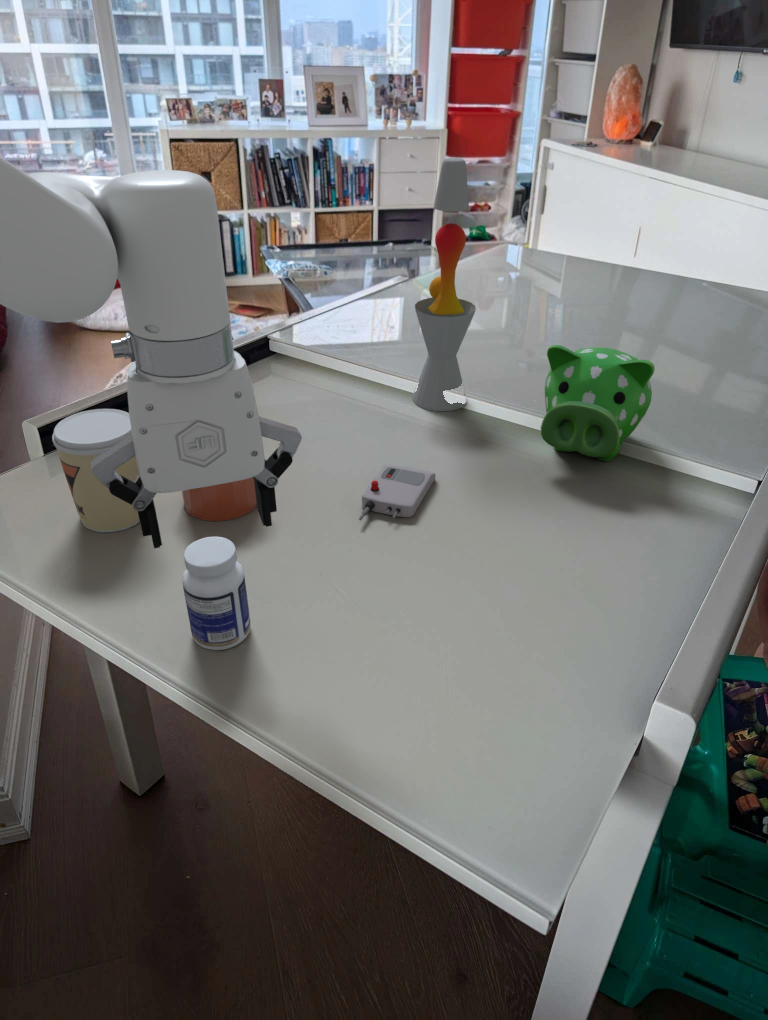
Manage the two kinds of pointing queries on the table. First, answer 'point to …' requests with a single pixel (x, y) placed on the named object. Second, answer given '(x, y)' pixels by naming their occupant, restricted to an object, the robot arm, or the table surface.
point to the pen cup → (221, 500)
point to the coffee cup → (76, 450)
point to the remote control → (397, 491)
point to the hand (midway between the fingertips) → (211, 528)
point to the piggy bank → (594, 399)
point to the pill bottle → (215, 594)
